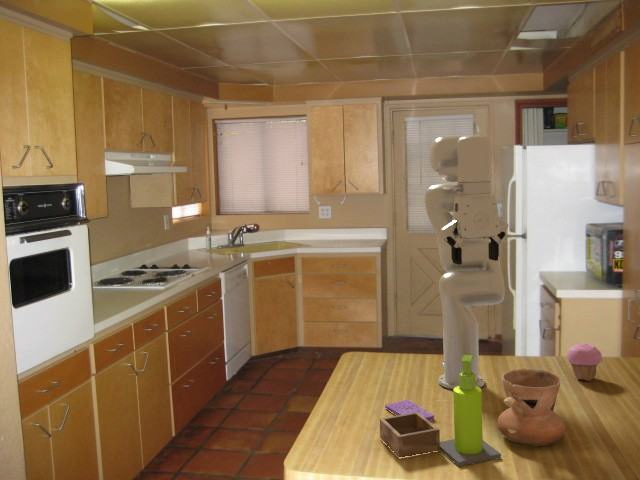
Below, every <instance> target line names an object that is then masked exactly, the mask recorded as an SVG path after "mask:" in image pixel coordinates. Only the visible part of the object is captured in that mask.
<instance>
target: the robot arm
mask: <svg viewBox="0 0 640 480" xmlns="http://www.w3.org/2000/svg"><path fill="white" fill-rule="evenodd" d="M492 147H493V146H492V141H491V139H490V137H488V136H486V135H482V134H481V135H480V134H479V135H478V134H476V135H475V134H474V135H452V136H450V135H449V136H441V137H440V136H439V137H437V138H435V139H434V140H433V142H432V143H431V146H430V149H429V162H430V166H431V168H432V170H433V171H434V172H436V173H437V174H438V176H439V178H441V179H442V180H444V181H446V182H447V183H439V184H434V185H431V186H430V187H428V188H427V189H426V190H425V193H424V205H425V210H426V215H427V218H428V220H429V222H430V224H431V226H432V229H434V232H435V233H436V240H437V246H438V247H437V248H438V253H439V260H440V261H439V262H440V264H441V268H442V269H443V270H444V271H445V273H444V274H442V275H441V277H440V278H439V282H438V291H439V297H440V303H441V312H442V340H443V341H442V342H443V343H442V344H443V345H442V346H443V349H442V350H443V362H442V363H441V368H443V374H441V375H439V376H438V384H439V385H440V386H442V387H444V388H446V389H450V390H453V389H454V388H455V387H457V386H459V373H460V372H462V371H463V363H462V358H463V355H473V358H472V361H471V371H472V372H474V373H475V384H476V386H477V387H479V388H482V387H483V386H484V385H485V384H486V383H485V382H486V381H485V380H486V379H485V378H484V377H483V376H482V375H480V372H479V371H480V366H479V362H480V359H479V351H480V350H479V321H478V319H477V317H476V316H475V314H474V313H473V312H472V311H471V310H470V309H469V307H473V306H492V305H493V306H494V305H499V304H501V303H502V302H503V301H504V299H505V296H506V295H505V294H506V289H505V287H506V286H505V281H504V276H503V271H502V267H501V263H500V258H499V256H500V244H501V243H502V240H503V239H504V237H505V236H506V233H507V230H508V228H509V224H508V223H506V222H504V221H502V220H501V219H500V218H499V211H498V204H497V199H496V196H495V194H492V156H493V148H492ZM448 182H449V183H448ZM451 213H452V214H451Z"/></svg>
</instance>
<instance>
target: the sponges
mask: <svg viewBox="0 0 640 480" xmlns="http://www.w3.org/2000/svg"><path fill="white" fill-rule="evenodd" d="M384 405H385V406H384V407H385V408H387V409H388V410H390V411H391V412H393V413H394V414H396V415H403V414H409V413H415V412H419V413H420V414H421V415H422V416H424V417H425V418H426V419H427V420H429V421H430V420H433V421H435V416H436V415H435V414H433V413H432V412H430V411H427V409H425V408H423V407H422V406H420V405H419V404H417V403H415V402H413V401H412V400H410V399H408V398H406V399H404V400H399V401H397V402H393V403H387V404H384ZM385 408H384V409H385ZM388 410H387V411H388ZM391 412H390V413H391ZM394 414H393V415H394ZM430 422H431V421H430Z"/></svg>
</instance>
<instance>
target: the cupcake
mask: <svg viewBox="0 0 640 480" xmlns="http://www.w3.org/2000/svg"><path fill="white" fill-rule="evenodd" d="M566 358H567V360H568V362H569V363H570V366H571V369H572V372H573V375H574V377H575V379H577V380H582V381H583V380H584V381H587V382H588V381H589V382H590V381H592V380H593V379H594V378H596V374H597V366H598V365H600V363H602V360H603V359H602V351H600V349H598V348H597V347H596V346H595V345H594V344H592V343H577V344H574V345H572V346H571V347H569V349H568V350H567V353H566Z"/></svg>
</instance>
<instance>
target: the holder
mask: <svg viewBox="0 0 640 480" xmlns="http://www.w3.org/2000/svg"><path fill="white" fill-rule="evenodd" d="M440 436H441V433H440V428H438V427H437V426H436V425H435V424H434V423H432V421H429V420H427V419H426V418H425V417H424V416H422V415H421V414H420V413H419V412H415V413H409V414H403V415H397V416H395V415H393V416H387V417H386V416H385V417H381V418H379V438H381V439H382V440H383V441H384V442H385V443H386V444H387V446H389V447H390V449H391V450H392V451H394V453H395V454H396V455H397V456H398V457H405V456H412V455H416V454H423V453H428V452H433V451H439V450H440V442H441V437H440ZM387 446H386V447H387ZM390 449H389V450H390ZM391 450H390V451H391ZM392 451H391V452H392ZM394 453H393V454H394ZM395 454H394V455H395ZM396 455H395V456H396ZM397 456H396V457H397ZM398 457H397V458H398Z"/></svg>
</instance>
